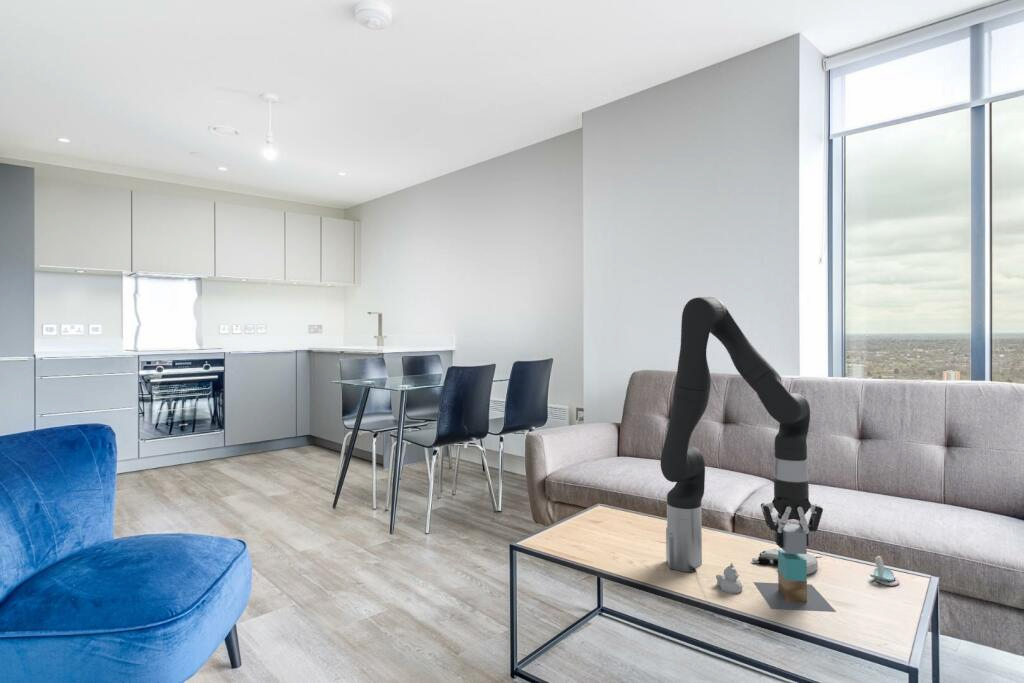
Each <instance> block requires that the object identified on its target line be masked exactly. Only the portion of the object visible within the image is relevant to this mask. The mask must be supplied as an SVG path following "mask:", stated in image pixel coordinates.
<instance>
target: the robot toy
mask: <svg viewBox="0 0 1024 683" xmlns="http://www.w3.org/2000/svg"><path fill="white" fill-rule="evenodd" d="M778 550H779V549H775V548H773V549H770V548H769V549H768V550H767V549H766V550H762V551H761V552H760V553H759V556H758V558H757V557H753V558H752V559H751V561H752V563H755V564H756V563H758V565H762V566H767V565H769V564H770V565H774V566H777V567H778ZM801 555H802V556H803V557H804V558H805V559H806V560H807V575H810V574H813V573H815V572H816V571H817V570H818V568H819V564H818V559H822V558H823V556H821V555H820V556H814V555H813V554H808V553H807V554H801Z"/></svg>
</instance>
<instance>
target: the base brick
mask: <svg viewBox="0 0 1024 683" xmlns="http://www.w3.org/2000/svg"><path fill="white" fill-rule="evenodd" d="M777 572H778V573H777V575H778V576H777V577H778V578H777V580H778V582H777V583H778V590H779V592H780V593H781V594H782V595H783V597H784V598H785V599H786V601H788V602H807V584H808V580H807V581H789V580H786V579H785V578H784V577H783V575H782V574H781V573H780V571H779V570H778V569H777Z"/></svg>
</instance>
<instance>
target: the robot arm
mask: <svg viewBox="0 0 1024 683" xmlns="http://www.w3.org/2000/svg"><path fill="white" fill-rule="evenodd" d="M680 326H681V327H680V328H681V329H680V347H679V348H680V349H679V355H678V360H677V369H676V377H675V382H674V387H673V393H672V394H673V396H672V405H671V410H670V415H669V421H668V427H667V431H666V436H665V440H664V444H663V447H662V451H661V454H660V455H661V456H660V469H661V473H662V475H663V477H664V479H665V480H666V481H668V482H671V483H675V485H674V486H673V487H672V488H671V490H669V491H668V493H667V494H666V522H667V523H666V526H667V527H665V544H666V545H665V550H666V552H665V553H666V554H665V555H666V556H665V558H666V563H667V566H668V568H669V569H670V570H676V571H680V572H684V573H686V572H688V573H691V572H697V569H696V568H700V567H701V566H702V565H703V543H702V542H703V540H702V534H703V533H702V531H703V530H702V528H703V527H702V524H703V522H702V500H703V497H704V494H705V485H706V484H705V481H706V479H705V477H706V463H705V459H704V456H703V454H702V452H701V451H700V449H699V448H697V447H696V446H694V445H689V444H690V440H691V437H692V435H693V432H694V430H695V428H696V426H698V424H699V422H700V421H701V418H702V417H703V415H704V413H705V412H706V410H707V407H708V404H709V400H710V393H711V388H712V387H711V386H712V378H711V373H710V372H711V371H710V368H709V364H708V359H707V348H708V342H709V337H710V334H711V335H713V337H715V338H716V339H717V340H718V341H719V342H720V343H721V344H722V345H723V346H724V348H725V350H726V351H727V354H728V355H729V357H730V359H731V362H732V364H733V366H734V367H735V369H736V371H737V372H738V373H739V374H740V376H741V377H742V378H743V379H744V380H745V381H746V382H745V383H747V384H748V385H749V386H750V387H751V389H753V391H754V392H755V393H756V395H757V396H758V398H759V400H760V402H761V403H762V406H763V407H764V408H765V410H766V411H767V413H768V414H769V415H770V417H772V418H773V419H774V420H775V421H776V422H778V423H779V428H778V432H777V433H776V435H775V436H774V444H773V445H774V446H773V447H774V461H773V471H772V473H773V499H772V502H769V503H763V502H762V503H761V504H760V508H761V511H762V514H763V518H764V521H765V523H766V526H767V527H768V529H770V530H771V531H774V542H775V544H776V545H777V546H778V547H779V548H780V549H782V548H783V547H784V544H783V533H782V532H783V529H784V526H785V525H786V524H788V521H790V520H796V521H797V523H798V526H799V527H800V528H801V529H803V530H804V531H805V532H806V542H807V548H808V547H809V534H810V533H812V532H817V531H818V528H819V526H820V522H821V518H822V515H823V511H824V509H823V507H822V506H820V505H819V504H813V503H811V502H810V499H809V497H810V496H809V495H810V494H809V493H810V492H809V491H810V486H809V485H810V483H809V478H810V477H809V465H808V446H807V444H808V443H807V439H808V438H807V437H808V433H809V427H810V421H811V408H810V405H809V402H808V400H807V399H806V397H805V396H803V395H802V394H800V393H796V392H792V393H791V392H789V391H788V390H787V389H786V387H785V386H784V385H783V384H782V377H781V375H780V374H779V373H778V371H777V370H776V369H775V368H774V367H773V366H772V365H771V364H770V362H768V361H767V360H766V359H765V357H764V356H763V355H762V354H761V353H760V352H759V351H758V349H757V348H756V347H755V346H754V345H753V344H752V343H751V341H750V340H749V338H748V337H747V336H746V334H745V333H744V332H743V330H742V329H741V328H740V326H739V324H738V323H737V322H736V321H735V318H734V317H733V315H732V314H731V312H730V311H729V309H728V308H727V307H726V305H725V304H724V303H723V302H722V301H721V300H720V299H718V298H716V297H710V296H707V297H706V296H704V297H703V296H702V297H701V296H699V297H694V298H691V299H689V300H688V301H687V302H686V304H684V306H683V309H682V313H681V325H680ZM773 509H775V511H776V512H777V515H776V520H775V522H774V519H773V517H772V513H773ZM809 510H810V518H809V520H808V521H807V519H806V514H807V512H809Z"/></svg>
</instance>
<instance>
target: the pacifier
mask: <svg viewBox="0 0 1024 683" xmlns="http://www.w3.org/2000/svg"><path fill="white" fill-rule="evenodd" d="M874 563H875V566H876V567H875V568H874V570H873V574H870V577H871V578H874V579H876V582H878V581H879V582H878V583H880V582H881V584H882V585H885V586H888V585H889V586H890V587H891V586H898V585H899V584H900V580H899V579H898V577H896V576H895V574H894V572H893V571H892V570H891V569H890V568H887V567H885V566H884V561H883V558H882V556H881V555H878V556H875V559H874ZM893 579H894V581H893ZM887 581H888V582H887ZM889 581H892V582H889Z"/></svg>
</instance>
